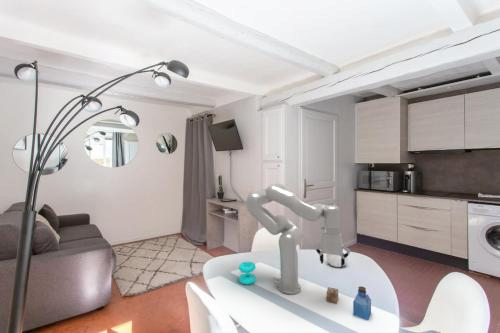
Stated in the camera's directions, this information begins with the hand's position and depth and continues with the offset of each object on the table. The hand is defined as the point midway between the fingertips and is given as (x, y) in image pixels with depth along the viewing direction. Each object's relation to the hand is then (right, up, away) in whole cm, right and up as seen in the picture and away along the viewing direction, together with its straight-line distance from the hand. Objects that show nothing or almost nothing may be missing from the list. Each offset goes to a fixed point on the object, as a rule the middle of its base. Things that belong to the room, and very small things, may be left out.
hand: (332, 264), depth 124 cm
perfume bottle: (+10, -19, -11) cm, 24 cm away
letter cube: (0, -18, +1) cm, 18 cm away
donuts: (-43, -19, +22) cm, 51 cm away
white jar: (+17, -17, +41) cm, 48 cm away
